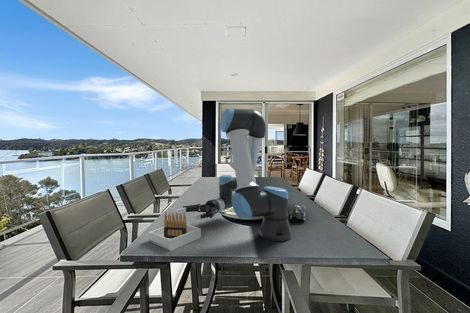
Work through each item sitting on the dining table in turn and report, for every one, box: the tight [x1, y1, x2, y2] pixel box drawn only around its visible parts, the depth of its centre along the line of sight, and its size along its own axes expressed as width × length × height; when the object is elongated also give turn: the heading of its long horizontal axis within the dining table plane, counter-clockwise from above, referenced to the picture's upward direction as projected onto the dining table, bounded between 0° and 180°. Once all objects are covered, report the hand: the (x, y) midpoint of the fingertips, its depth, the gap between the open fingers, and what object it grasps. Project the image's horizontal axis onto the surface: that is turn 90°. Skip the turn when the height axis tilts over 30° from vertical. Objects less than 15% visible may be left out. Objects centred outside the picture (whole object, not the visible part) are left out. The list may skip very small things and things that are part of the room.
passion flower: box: [288, 202, 308, 221], centre depth 145 cm, size 11×11×12 cm
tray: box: [148, 223, 202, 252], centre depth 117 cm, size 16×18×4 cm
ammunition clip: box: [163, 211, 187, 238], centre depth 117 cm, size 11×2×12 cm, turn 84°
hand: (184, 215), depth 121 cm, fingers open, 13 cm apart
